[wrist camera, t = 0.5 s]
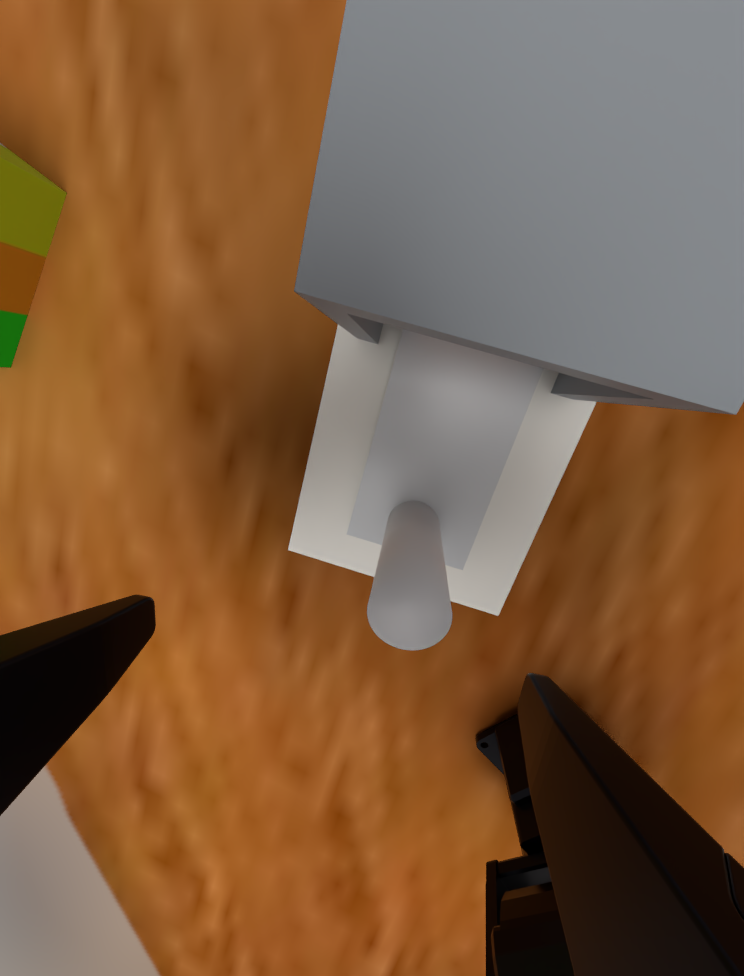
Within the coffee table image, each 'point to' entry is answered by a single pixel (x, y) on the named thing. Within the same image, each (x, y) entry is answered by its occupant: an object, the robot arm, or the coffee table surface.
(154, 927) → the coffee table surface
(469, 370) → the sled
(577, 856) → the robot arm
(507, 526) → the board
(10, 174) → the puzzle toy
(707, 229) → the tunnel
